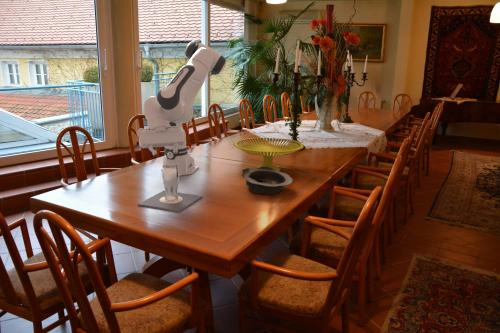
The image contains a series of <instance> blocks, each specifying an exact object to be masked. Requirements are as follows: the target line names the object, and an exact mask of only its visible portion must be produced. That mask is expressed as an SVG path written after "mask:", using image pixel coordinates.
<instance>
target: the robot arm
mask: <svg viewBox="0 0 500 333" xmlns="http://www.w3.org/2000/svg"><path fill="white" fill-rule="evenodd" d="M184 54H185V57H186V58H187V59H188V61H187V63H186V64H185V65H183V66H182V67H181V68H179V69H178V71H177V72H176V74H174V76H173V77H172V78H171V79H170V81H169V82H168V83H167V84H166V85H165V86H163V87H162V88H161V89H159V91H158V92H157V94H156V95H151V96H149V97H147V98H146V99H145V100H144V103H143V113H144V117H145V119H146V120H147V121H146V123H147V125H146V126H147V128H139V129H138V130H136V136H137V138H138V145H139V147H140V148H141V149H148V150H149V152H151V154H152V156H157V155H158V152H157V149H154V148H162V147H163V148H164V150H163V151H164V156H163V159H162V160H163V162H162V167H163V166H164V165H168V164H175V165H178V170H179V177H180V176H187V175H189V176H190V175H193V174H195V172H197V170H199V168H200V167H199V165H196V163H195V157H193V156H192V155H190V153H189V151H190V150H191V147H190V146H187V140H186V139H187V138H186V137H187V136H186V135H187V134H186V131H185V129H184V127H183V125H182V124H187V123H189V122H191V121H192V120H193V117H194V110H193V106H194V102H195V99H196V98H197V95H198V93H199V92H200V90H201V88H202V86H203V85H204V83H205V81H206V78H207V76H208V74H209V73H210V75H209V76H210V77H211V76H217V75H220V73H222V72H223V71H224V70H225V68H226V64H227V60H226V58H225V56H224V55H222V54H220V53H219V52H218V51H217V50H214V49H213V48H212V47H210V46H208V45H206V44H204V43H202V42H201V41H199V40H196V39H193V40H191V41H190V42H189V43H188V44H187V45H186V47H185V51H184ZM160 170H161V172H162V170H163V168H161V169H160Z"/></svg>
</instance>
